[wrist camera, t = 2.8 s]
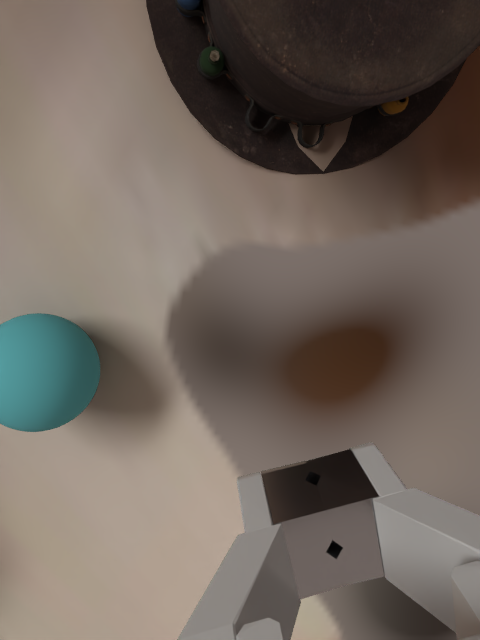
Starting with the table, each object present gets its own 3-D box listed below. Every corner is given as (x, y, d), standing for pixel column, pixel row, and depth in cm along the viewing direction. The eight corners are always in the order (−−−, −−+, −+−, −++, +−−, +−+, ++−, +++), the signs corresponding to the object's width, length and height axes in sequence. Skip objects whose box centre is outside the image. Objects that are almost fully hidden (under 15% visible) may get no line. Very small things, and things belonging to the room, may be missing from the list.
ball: (90, 289, 23) (59, 320, 18) (122, 383, 24) (103, 438, 19) (-16, 315, 23) (-78, 354, 17) (24, 408, 24) (-22, 470, 19)
